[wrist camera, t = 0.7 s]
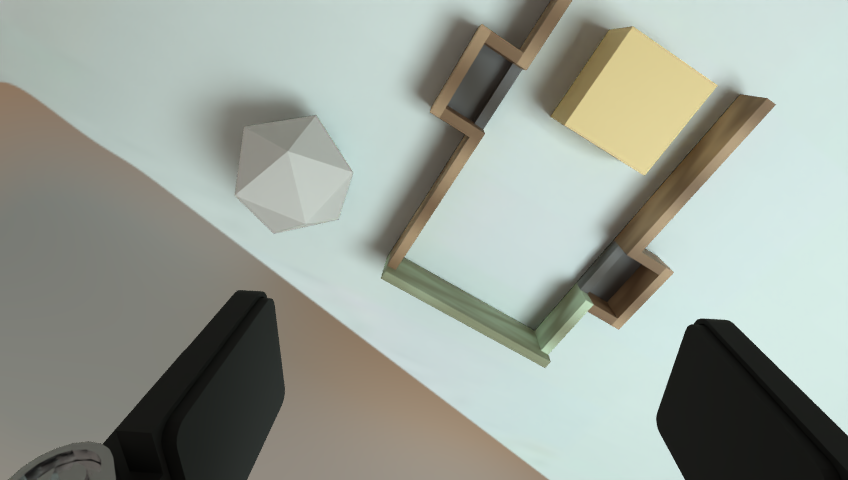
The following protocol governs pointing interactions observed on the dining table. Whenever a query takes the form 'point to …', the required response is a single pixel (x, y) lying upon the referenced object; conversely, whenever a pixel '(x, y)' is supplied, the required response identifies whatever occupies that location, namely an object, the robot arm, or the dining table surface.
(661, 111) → the block
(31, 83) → the dining table surface
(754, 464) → the robot arm
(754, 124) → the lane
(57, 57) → the dining table surface
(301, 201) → the die
